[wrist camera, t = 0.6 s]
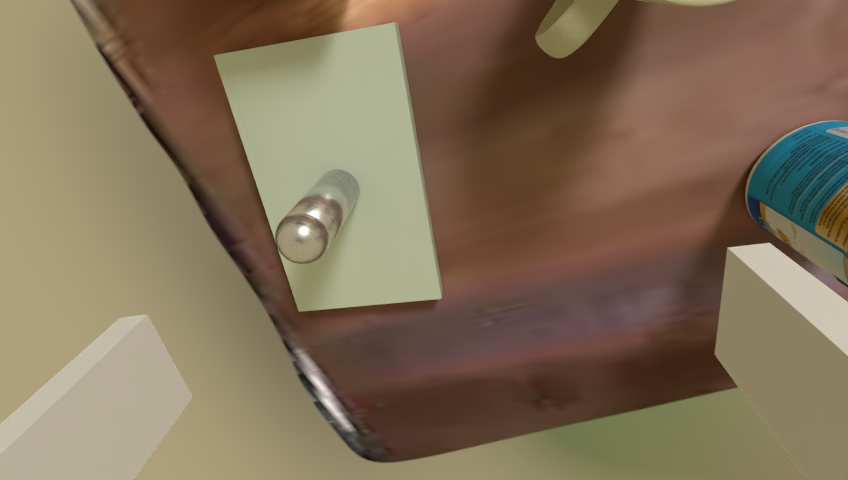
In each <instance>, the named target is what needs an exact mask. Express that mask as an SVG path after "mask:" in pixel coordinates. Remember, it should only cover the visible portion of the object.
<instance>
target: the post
mask: <svg viewBox="0 0 848 480" xmlns="http://www.w3.org/2000/svg"><path fill="white" fill-rule="evenodd" d="M359 195H360V188H359V184H358V182H357V180H356V179H355V178H354V177H353V176H352V175H351V174H350V173H348V172H346V171H344V170H340V169H335V170H330V171H328V172H326V173H325V174H324V175H323V176H322V177H321V178H320V179H319V180H318V181H317V182H316V183H315V185H314V186H313V187H312V188H311V189H310V190H309V191H308V192H307V193H306V194H305V195H304V196H303V198H302V199H301V200H300V201H299V202H298V203H297V204H296V205H295V206H294V207H293V208H292V209H291V210H290V212H289V213H288V214H287V215H286V216H285V217H284V218H283V219H282V220H281V222H280V223H279V225H278V227H277V229H276V234H275V241H276V245H277V248H278V250H279V252H280V253H281V254H282V255H283V256H284V257H285V258H286V259H287V260H289V261H291V262H294V263H297V264H309V263H312V262H315V261H317V260H318V259H320V258H321V257H322V256H323V255H324V254H325V253H326V251H327V250H328V248H329V246H330V245H331V243H332V242H333V240H334V238H335V237H336V235H337V233H338V232H339V230H340V228H341V227H342V225H343V223H344V222H345V220H346V218H347V217H348V215H349V213H350V212H351V210H352V208H353V207H354V205H355V203H356V202H357V200H358V198H359Z"/></svg>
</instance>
